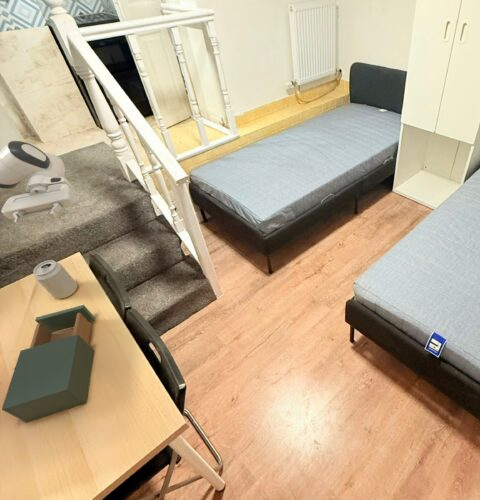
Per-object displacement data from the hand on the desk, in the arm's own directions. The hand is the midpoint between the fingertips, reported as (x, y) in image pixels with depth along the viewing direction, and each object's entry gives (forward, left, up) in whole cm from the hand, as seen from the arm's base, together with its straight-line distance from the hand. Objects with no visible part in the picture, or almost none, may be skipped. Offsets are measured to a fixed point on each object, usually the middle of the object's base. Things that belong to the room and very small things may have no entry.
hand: (35, 219), depth 104 cm
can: (-1, -12, -22) cm, 25 cm away
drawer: (+4, -34, -21) cm, 40 cm away
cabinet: (+4, -47, -22) cm, 52 cm away
